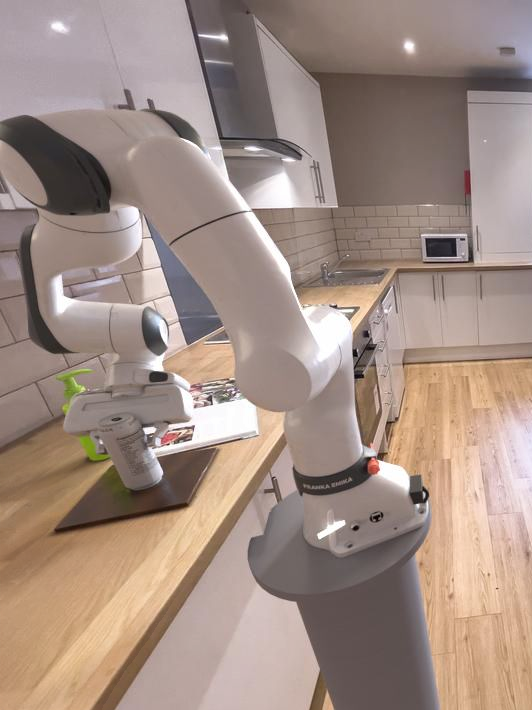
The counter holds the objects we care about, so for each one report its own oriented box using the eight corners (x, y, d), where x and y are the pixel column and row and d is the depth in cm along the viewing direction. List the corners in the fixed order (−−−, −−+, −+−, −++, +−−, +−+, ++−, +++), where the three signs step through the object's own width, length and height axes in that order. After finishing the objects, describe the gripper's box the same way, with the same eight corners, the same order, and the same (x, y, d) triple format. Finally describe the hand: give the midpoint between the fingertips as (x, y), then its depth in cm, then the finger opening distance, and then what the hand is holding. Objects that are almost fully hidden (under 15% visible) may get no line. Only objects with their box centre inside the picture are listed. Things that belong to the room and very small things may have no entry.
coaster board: (218, 449, 95) (217, 446, 95) (188, 505, 78) (187, 502, 77) (113, 468, 89) (111, 465, 89) (55, 532, 72) (53, 529, 72)
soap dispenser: (134, 447, 97) (96, 369, 88) (97, 463, 91) (53, 381, 82) (120, 441, 99) (82, 365, 90) (84, 457, 93) (40, 377, 85)
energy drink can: (152, 471, 87) (122, 408, 80) (172, 476, 85) (143, 413, 78) (119, 488, 81) (85, 423, 75) (140, 494, 80) (106, 428, 73)
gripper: (59, 385, 78) (48, 456, 74) (183, 372, 83) (179, 438, 79) (84, 396, 84) (75, 463, 79) (199, 383, 89) (196, 445, 84)
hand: (128, 450), depth 79 cm, fingers open, 7 cm apart
